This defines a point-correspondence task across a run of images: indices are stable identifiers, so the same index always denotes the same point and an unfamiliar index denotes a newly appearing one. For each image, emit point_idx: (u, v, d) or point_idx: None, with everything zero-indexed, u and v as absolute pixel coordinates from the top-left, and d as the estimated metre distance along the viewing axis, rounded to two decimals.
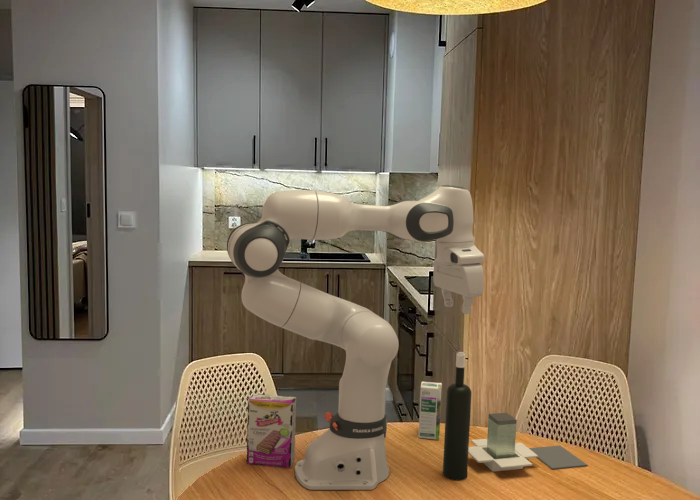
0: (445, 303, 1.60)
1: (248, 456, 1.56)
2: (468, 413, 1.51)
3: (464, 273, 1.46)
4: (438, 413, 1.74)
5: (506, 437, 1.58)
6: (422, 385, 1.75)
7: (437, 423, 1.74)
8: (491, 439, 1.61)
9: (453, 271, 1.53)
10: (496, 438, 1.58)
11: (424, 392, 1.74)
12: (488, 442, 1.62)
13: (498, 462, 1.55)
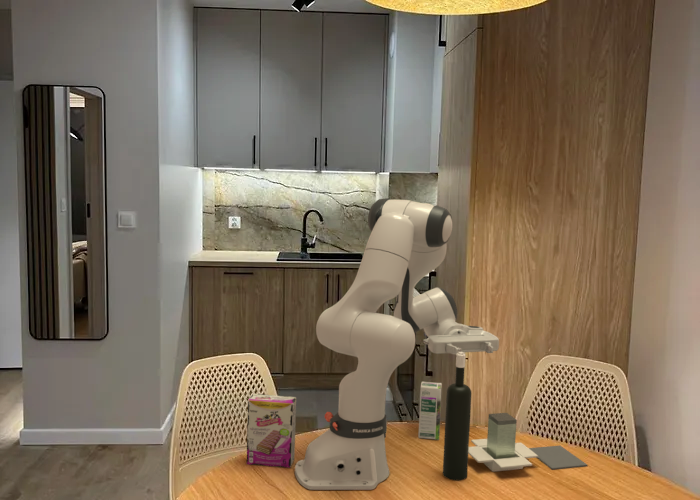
0: (457, 347, 1.75)
1: (248, 456, 1.56)
2: (468, 413, 1.51)
3: (488, 332, 1.87)
4: (438, 413, 1.74)
5: (505, 437, 1.58)
6: (422, 385, 1.75)
7: (437, 423, 1.74)
8: (491, 439, 1.61)
9: (465, 336, 1.85)
10: (496, 438, 1.58)
11: (424, 392, 1.74)
12: (488, 442, 1.62)
13: (498, 462, 1.55)
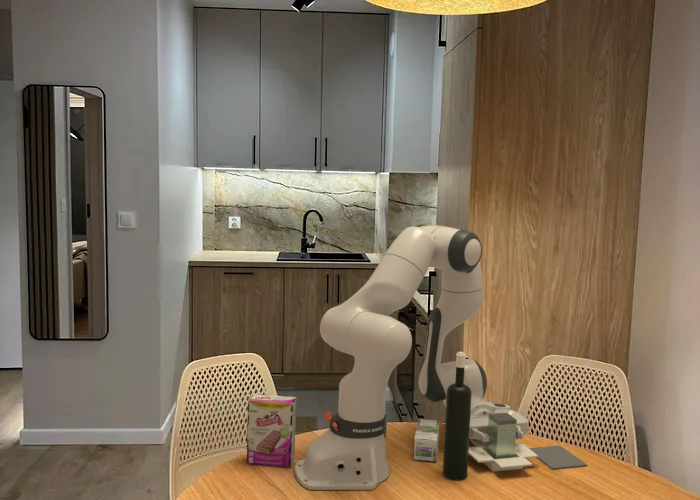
0: (484, 434, 1.59)
1: (248, 456, 1.56)
2: (468, 413, 1.51)
3: (516, 412, 1.72)
4: None
5: (506, 437, 1.58)
6: (415, 456, 1.61)
7: None
8: (491, 439, 1.61)
9: None
10: (496, 438, 1.58)
11: None
12: (488, 442, 1.62)
13: (498, 462, 1.55)
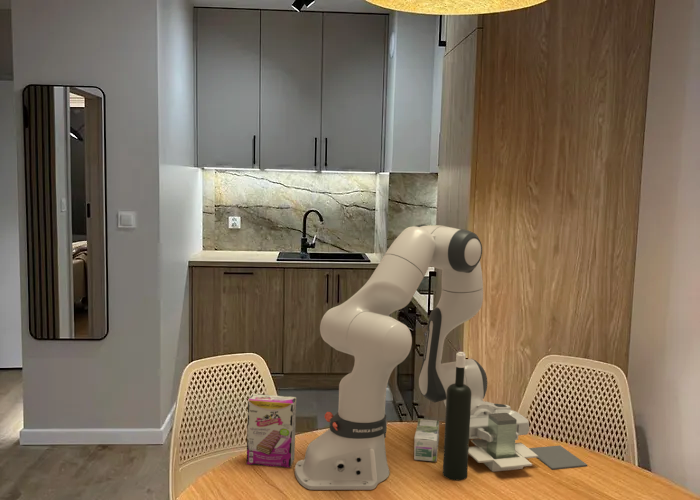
0: (490, 434, 1.59)
1: (248, 456, 1.56)
2: (468, 413, 1.51)
3: (516, 412, 1.71)
4: None
5: (505, 437, 1.58)
6: (415, 456, 1.61)
7: None
8: None
9: None
10: (496, 437, 1.58)
11: None
12: (488, 442, 1.62)
13: (498, 462, 1.55)
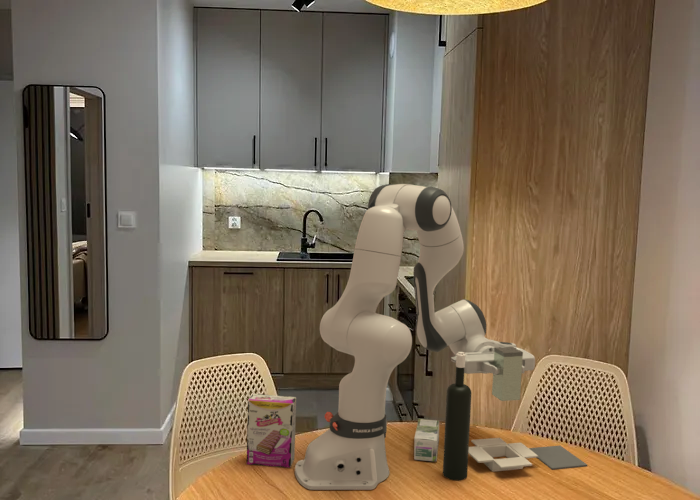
0: (496, 367, 1.58)
1: (248, 456, 1.56)
2: (468, 413, 1.51)
3: (522, 349, 1.70)
4: None
5: (512, 370, 1.57)
6: (415, 456, 1.61)
7: None
8: None
9: None
10: (502, 370, 1.57)
11: None
12: (494, 376, 1.61)
13: (498, 462, 1.55)
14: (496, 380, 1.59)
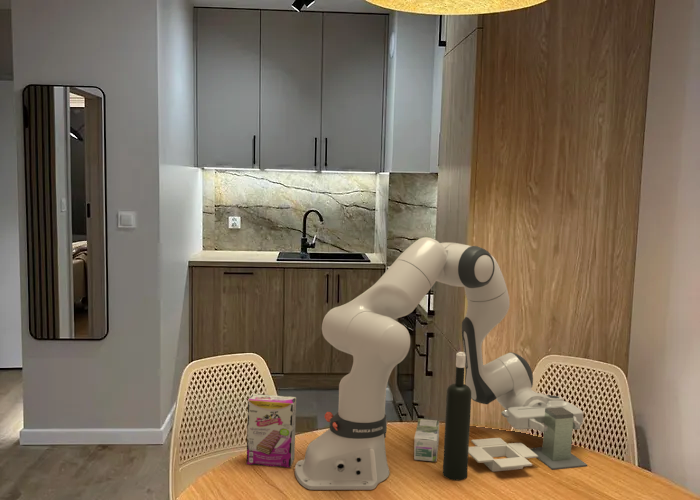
0: (543, 424, 1.63)
1: (248, 456, 1.56)
2: (468, 413, 1.51)
3: (570, 403, 1.75)
4: None
5: (563, 431, 1.63)
6: (415, 456, 1.61)
7: None
8: (547, 432, 1.65)
9: None
10: (553, 431, 1.62)
11: None
12: (544, 436, 1.66)
13: (498, 462, 1.55)
14: (547, 440, 1.65)
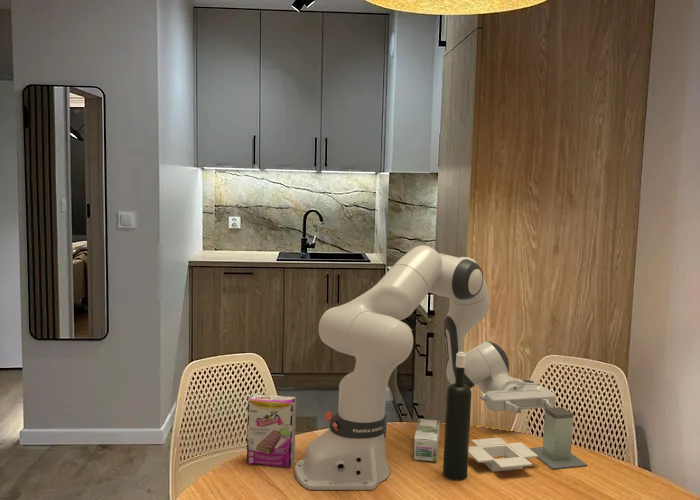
0: (517, 406, 1.76)
1: (248, 456, 1.56)
2: (468, 413, 1.51)
3: (543, 387, 1.88)
4: None
5: (563, 431, 1.63)
6: (415, 456, 1.61)
7: None
8: (547, 432, 1.65)
9: (521, 392, 1.86)
10: (553, 431, 1.62)
11: None
12: (544, 436, 1.66)
13: (498, 462, 1.55)
14: (547, 440, 1.65)
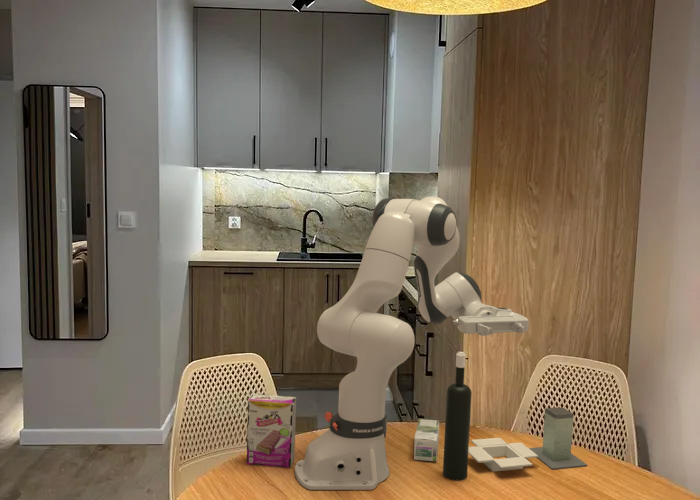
0: (489, 327, 1.75)
1: (248, 456, 1.56)
2: (468, 413, 1.51)
3: None
4: None
5: (563, 431, 1.63)
6: (415, 456, 1.61)
7: None
8: (547, 432, 1.65)
9: (495, 317, 1.85)
10: (553, 431, 1.62)
11: None
12: (544, 436, 1.66)
13: (498, 462, 1.55)
14: (547, 440, 1.65)
